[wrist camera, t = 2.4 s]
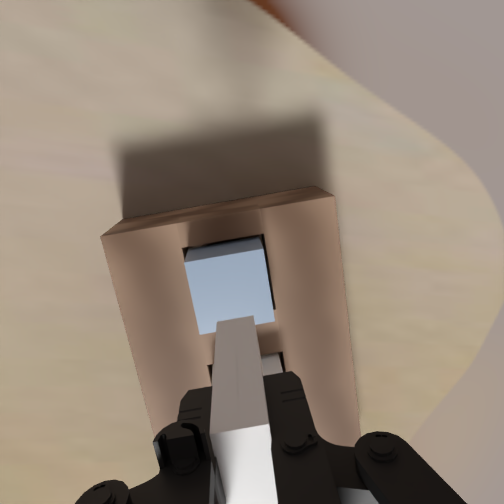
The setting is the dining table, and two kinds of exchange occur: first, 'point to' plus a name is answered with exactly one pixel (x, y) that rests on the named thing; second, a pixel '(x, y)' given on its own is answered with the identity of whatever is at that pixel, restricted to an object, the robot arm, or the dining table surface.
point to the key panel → (269, 334)
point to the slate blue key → (229, 283)
